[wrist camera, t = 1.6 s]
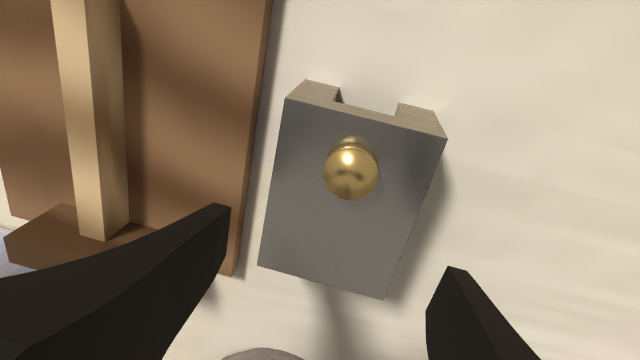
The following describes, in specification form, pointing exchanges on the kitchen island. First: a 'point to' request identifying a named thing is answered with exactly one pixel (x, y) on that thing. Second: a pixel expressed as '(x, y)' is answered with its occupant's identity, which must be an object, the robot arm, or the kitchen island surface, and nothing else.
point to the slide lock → (346, 189)
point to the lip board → (125, 119)
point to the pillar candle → (262, 355)
